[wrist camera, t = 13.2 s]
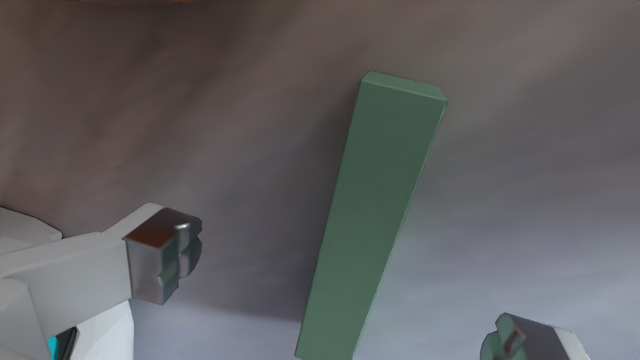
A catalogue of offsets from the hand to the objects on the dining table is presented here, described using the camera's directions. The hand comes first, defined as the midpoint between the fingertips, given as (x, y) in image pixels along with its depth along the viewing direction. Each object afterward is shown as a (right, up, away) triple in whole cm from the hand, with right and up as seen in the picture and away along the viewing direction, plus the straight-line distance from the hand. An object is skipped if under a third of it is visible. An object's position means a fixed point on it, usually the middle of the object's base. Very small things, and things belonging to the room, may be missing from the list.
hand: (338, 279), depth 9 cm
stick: (+1, +1, +4) cm, 4 cm away
